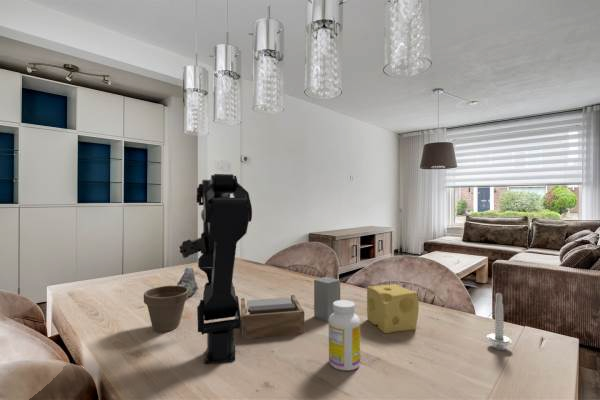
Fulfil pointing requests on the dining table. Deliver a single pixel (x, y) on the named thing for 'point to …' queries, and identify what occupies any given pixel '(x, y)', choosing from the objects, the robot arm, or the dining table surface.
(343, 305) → the supplement bottle
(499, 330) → the screw
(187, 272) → the mineral rock
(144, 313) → the dining table surface
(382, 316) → the cheese
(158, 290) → the flower pot
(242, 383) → the dining table surface
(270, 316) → the trap frame
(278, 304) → the trapdoor
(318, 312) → the grey rectangular block
